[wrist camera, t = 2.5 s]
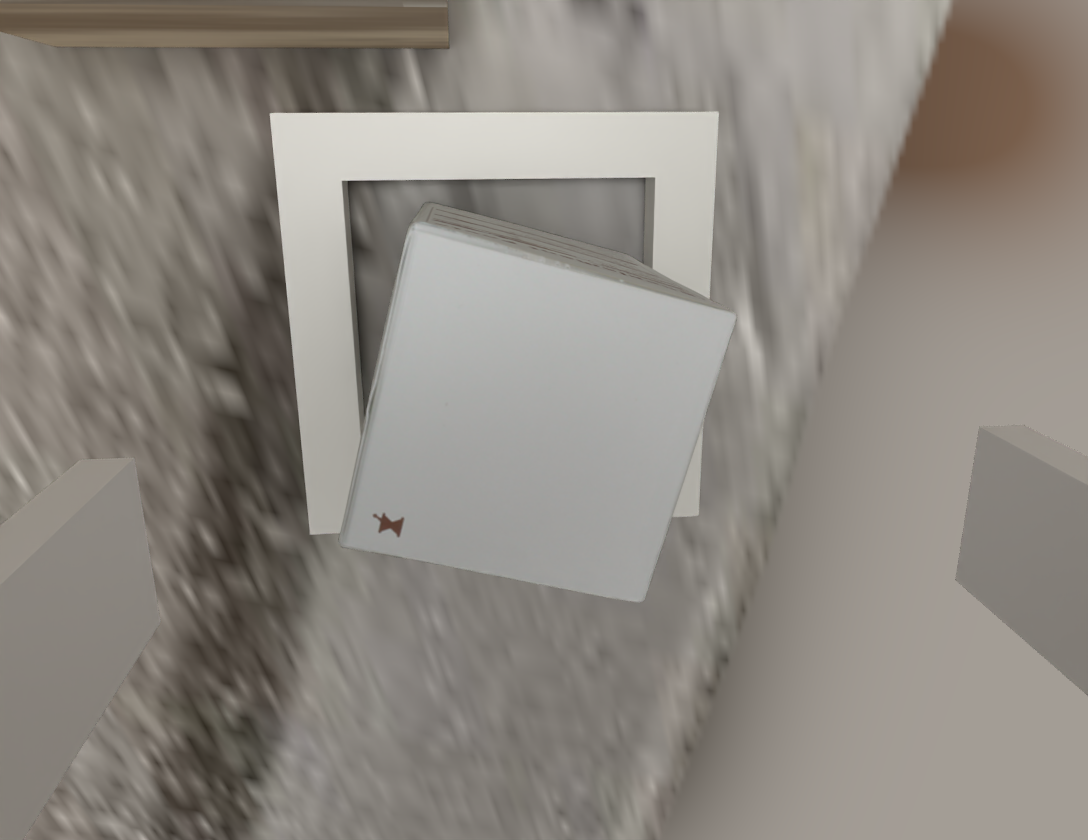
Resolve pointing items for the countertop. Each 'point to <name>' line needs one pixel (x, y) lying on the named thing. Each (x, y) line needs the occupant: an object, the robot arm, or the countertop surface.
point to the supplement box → (531, 407)
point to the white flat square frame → (445, 154)
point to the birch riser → (229, 23)
